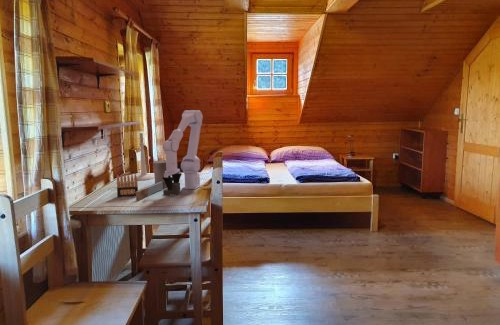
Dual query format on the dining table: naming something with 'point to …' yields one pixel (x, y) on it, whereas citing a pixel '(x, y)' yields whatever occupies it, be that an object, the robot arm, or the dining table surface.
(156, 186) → the door
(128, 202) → the dining table surface
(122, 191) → the ammunition clip
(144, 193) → the brown wooden bar
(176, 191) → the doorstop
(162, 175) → the pillar candle
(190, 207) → the dining table surface
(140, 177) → the candlestick
